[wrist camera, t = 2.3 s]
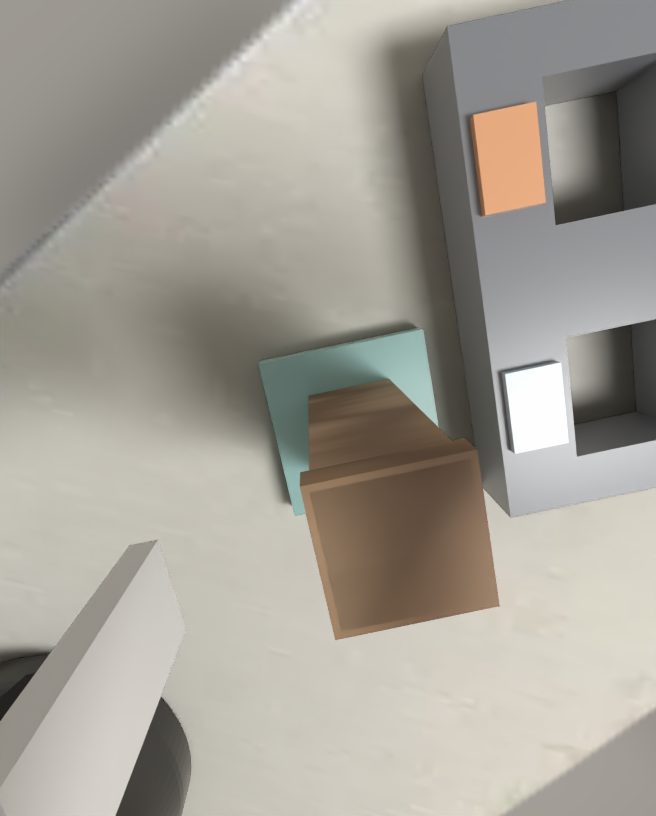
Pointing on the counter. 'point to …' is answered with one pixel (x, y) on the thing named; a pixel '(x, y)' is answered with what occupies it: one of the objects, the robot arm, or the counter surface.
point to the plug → (393, 512)
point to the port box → (546, 244)
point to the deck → (336, 370)
